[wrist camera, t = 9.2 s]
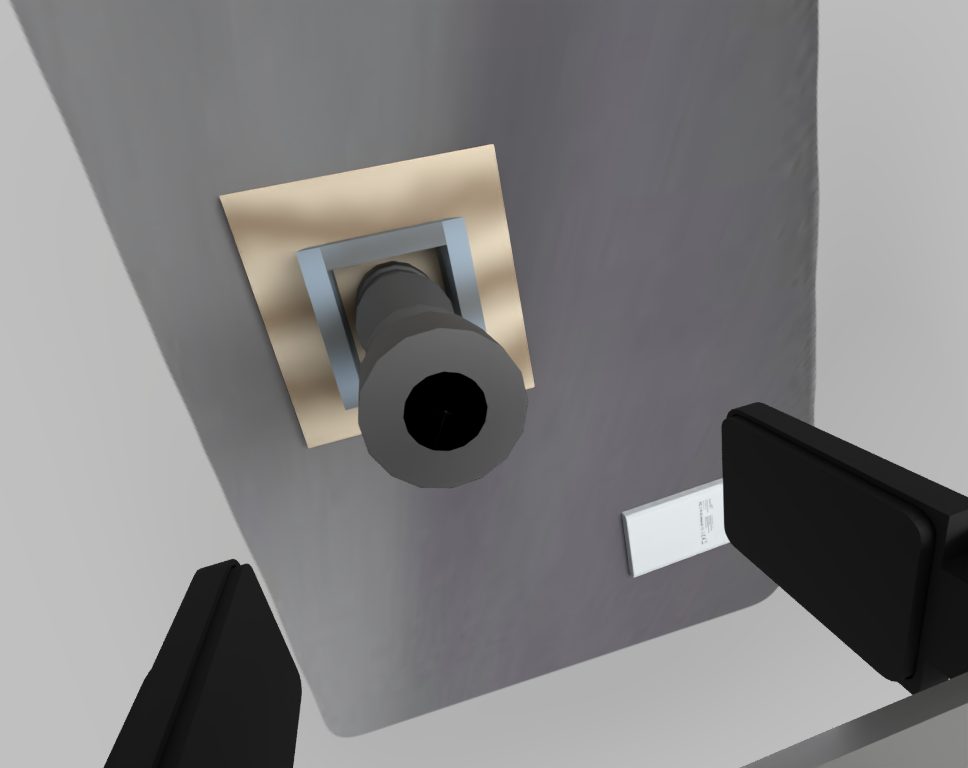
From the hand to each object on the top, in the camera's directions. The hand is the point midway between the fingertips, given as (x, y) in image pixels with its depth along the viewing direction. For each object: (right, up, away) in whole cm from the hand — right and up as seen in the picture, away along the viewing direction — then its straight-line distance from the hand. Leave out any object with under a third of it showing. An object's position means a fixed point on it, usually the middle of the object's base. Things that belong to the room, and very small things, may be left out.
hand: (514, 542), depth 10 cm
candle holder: (-8, +10, +30) cm, 33 cm away
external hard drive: (+20, -12, +46) cm, 52 cm away
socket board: (-8, +10, +31) cm, 34 cm away
